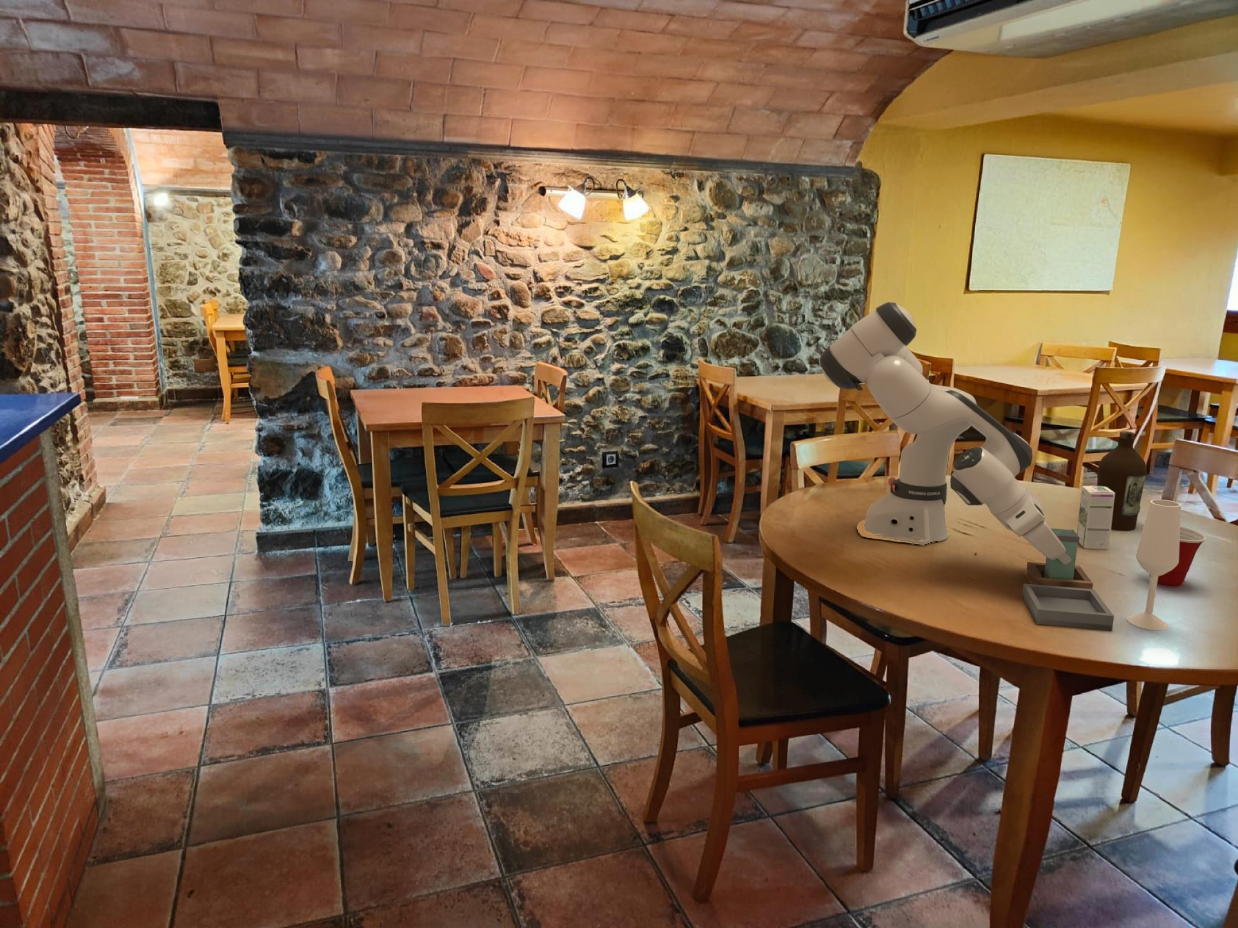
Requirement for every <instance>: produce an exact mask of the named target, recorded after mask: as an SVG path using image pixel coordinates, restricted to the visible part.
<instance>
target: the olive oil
mask: <svg viewBox="0 0 1238 928" xmlns="http://www.w3.org/2000/svg"><path fill="white" fill-rule="evenodd" d="M1134 437H1135V432H1133V431H1127V430H1126V431H1125V430H1123V431H1119V436H1118V439H1117V440H1118V441H1117V446H1116V447H1114V448H1112V450H1110V451H1109V452H1108V453H1106V454H1105V455H1104V456H1102V457H1101V459H1100V461H1099V464H1098V466H1097V467H1098V468H1097V478H1096V486H1105V487H1107V488H1109V489H1110V490H1112V491H1113V492H1114V493H1115V498H1114V506H1113V515H1112V524H1111V531H1123V532H1125V531H1127V532H1128V531H1133V530H1135V529H1136V528H1137V527H1136V526H1137V523H1138V522H1137V521H1138V517H1139V513H1140V510H1141V500H1142V498H1143V491H1144V486H1145V481H1146V477H1147V471H1148V470H1147V465H1146V461H1145V459H1143V456H1141V455H1140V454H1139V452H1138V451H1136V449H1135V448H1134V442H1135V438H1134Z"/></svg>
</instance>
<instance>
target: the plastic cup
mask: <svg viewBox="0 0 1238 928" xmlns="http://www.w3.org/2000/svg"><path fill="white" fill-rule="evenodd" d="M1207 538H1208V537H1207V536H1206V535H1205V534H1204V533H1202V532H1200V531H1198V530H1195V529H1192V528H1191V527H1190V528H1189V527H1188V526H1187V527H1186V526H1182V525H1180V542H1179V563H1178V565H1177V566H1176V567H1175V568H1174V569H1172V570H1171V571H1169V572H1167V573H1165V574H1163V575H1161V576H1158V581H1157V585H1159V586H1164V587H1167V588H1168V587H1169V588H1170V587H1171V588H1179V587H1182V586H1183V584H1184V582H1185V579H1186V578H1187V574H1188V572H1189V571H1190V569H1191V566H1192V564H1193V562H1194V559H1195V556H1196V553H1197V552H1198V550H1199V549H1200V546H1201V545H1202V543H1204V542H1205V541H1206V539H1207ZM1149 577H1151V575H1150V574H1149Z"/></svg>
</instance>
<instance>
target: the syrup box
mask: <svg viewBox="0 0 1238 928" xmlns="http://www.w3.org/2000/svg"><path fill="white" fill-rule="evenodd" d="M1114 498H1115V493H1114V492H1113V491H1112V490H1110V489H1109V488H1107V487H1105V486H1097V485H1082V486H1081V494H1080V501H1079V502H1080V503H1079V510H1078V511H1079V512H1078V520H1077V527H1076V528H1077V529H1076V533H1077V535H1078V536H1079V542H1078V544H1079V546H1081V547H1082V548H1083V549H1086V550H1106V551H1107V550H1109V547H1110V540H1111V533H1112V530H1111V524H1112V515H1113V506H1114Z"/></svg>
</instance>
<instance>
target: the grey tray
mask: <svg viewBox="0 0 1238 928" xmlns="http://www.w3.org/2000/svg"><path fill="white" fill-rule="evenodd" d="M1021 598H1022V600H1023V601H1024V603H1025V605H1026V607H1027V608H1028V609H1027V610H1028V611H1029V613H1030V615H1031V617H1032V619H1033V621H1034V622H1035V625H1047V626H1055V627H1056V626H1057V627H1068V628H1069V627H1070V628H1078V629H1079V628H1081V629H1091V630H1101V631H1112V632H1113V627H1114V619H1115V615H1114V613H1112V611H1111V610H1110V609H1109V607H1108V606H1107V605H1106V603H1105V602H1104V600H1103V599H1102V597H1100V596H1099V593H1097V592H1096V590H1095V589H1094V588H1093V589H1083V588H1071V587H1058V586H1045V585H1033V584H1031V583H1030V584H1029V583H1023V587H1022V597H1021Z"/></svg>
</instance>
